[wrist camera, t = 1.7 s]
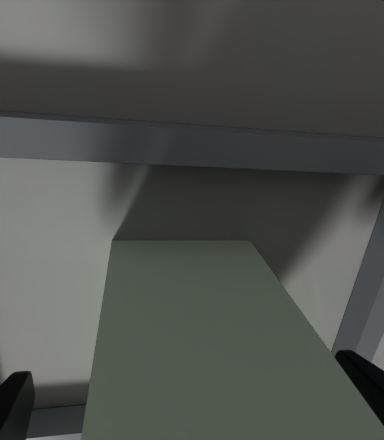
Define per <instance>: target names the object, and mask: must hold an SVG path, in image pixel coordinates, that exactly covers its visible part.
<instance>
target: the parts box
mask: <svg viewBox="0 0 384 440" xmlns="http://www.w3.org/2000/svg"><path fill="white" fill-rule="evenodd" d="M81 440H384V426H383V424H382V423H381V422H380V420H379V419H378V417H377V416H376V415H375V413H374V412H373V410H372V409H371V408H370V406H369V405H368V403H367V402H366V401H365V399H364V398H363V397H362V395H361V394H360V392H359V391H358V390H357V388H356V387H355V385H354V384H353V383H352V381H351V380H350V378H349V377H348V376H347V374H346V373H345V372H344V370H343V369H342V367H341V366H340V365H339V363H338V362H337V360H336V359H335V358H334V356H333V355H332V353H331V352H330V351H329V349H328V348H327V347H326V345H325V344H324V342H323V341H322V340H321V338H320V337H319V335H318V334H317V333H316V331H315V330H314V328H313V327H312V326H311V324H310V323H309V322H308V320H307V319H306V317H305V316H304V315H303V313H302V312H301V310H300V309H299V308H298V306H297V305H296V303H295V302H294V301H293V299H292V298H291V297H290V295H289V294H288V292H287V291H286V290H285V288H284V287H283V285H282V284H281V283H280V281H279V280H278V278H277V277H276V276H275V274H274V273H273V272H272V270H271V269H270V267H269V266H268V265H267V263H266V262H265V260H264V259H263V258H262V256H261V255H260V253H259V252H258V251H257V249H256V248H255V247H254V245H253V244H252V242H251V241H160V240H112V243H111V250H110V256H109V262H108V269H107V275H106V282H105V288H104V295H103V301H102V307H101V314H100V320H99V327H98V333H97V339H96V346H95V352H94V359H93V365H92V371H91V378H90V384H89V391H88V397H87V404H86V410H85V416H84V423H83V429H82V436H81Z"/></svg>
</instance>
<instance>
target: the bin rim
mask: <svg viewBox="0 0 384 440" xmlns="http://www.w3.org/2000/svg"><path fill="white" fill-rule="evenodd" d="M0 157H3V158H24V159H46V160H68V161H89V162H111V163H133V164H154V165H176V166H197V167H219V168H241V169H262V170H284V171H306V172H327V173H349V174H371V175H384V138H373V137H359V136H344V135H330V134H316V133H302V132H288V131H274V130H260V129H245V128H231V127H217V126H203V125H189V124H175V123H160V122H146V121H132V120H118V119H104V118H90V117H76V116H61V115H47V114H33V113H19V112H5V111H0ZM383 332H384V201H383V204H382V207H381V210H380V213H379V216H378V218H377V221H376V224H375V227H374V230H373V233H372V236H371V239H370V242H369V245H368V247H367V250H366V253H365V256H364V259H363V262H362V265H361V268H360V271H359V274H358V277H357V279H356V282H355V285H354V288H353V291H352V294H351V297H350V300H349V303H348V306H347V308H346V311H345V314H344V317H343V320H342V323H341V326H340V329H339V332H338V335H337V338H336V340H335V343H334V346H333V349H332V352H331V353H332V355H333V356H334V357H335V355H336V352H337V351H338V350H347V349H349V350H352V351H354V352H356V353H357V354H359V355H360V356H362V357H363V358H365V359H366V360H368V361H369V362H371V361H372V359H373V356H374V354H375V352H376V349H377V347H378V344H379V342H380V340H381V337H382V335H383ZM85 410H86V405H80V406H69V407H58V408H46V409H35V410H32V413H31V418H30V422H29V427H28V431H27V436H26V440H81V436H82V429H83V423H84V416H85Z"/></svg>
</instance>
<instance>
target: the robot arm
mask: <svg viewBox="0 0 384 440" xmlns="http://www.w3.org/2000/svg"><path fill="white" fill-rule="evenodd" d="M334 358H335V359H336V360H337V362H338V363H339V365H340V366H341V367H342V369H343V370H344V372H345V373H346V374H347V376H348V377H349V378H350V380H351V381H352V383H353V384H354V385H355V387H356V388H357V390H358V391H359V392H360V394H361V395H362V397H363V398H364V399H365V401H366V402H367V403H368V405H369V406H370V408H371V409H372V410H373V412H374V413H375V415H376V416H377V417H378V419H379V420H380V422H381V423H382V424H383V426H384V371H383V370H382V369H380V368H378V367H377V366H375V365H374V364H372V363H371V362H369V361H368V360H366V359H365V358H363V357H362V356H360V355H359V354H357V353H356V352H354V351H352V350H349V349H347V350H338V351H337V352H336V355H335V357H334ZM34 399H35V391H34V384H33V378H32V373H31V372H30V371H19V372H14V373H12V374H11V375H10V376H9V377H8V378H7V379H6V380H5V381H4V382H3V383H2V384H1V385H0V440H26V436H27V431H28V427H29V422H30V418H31V413H32V409H33V404H34Z"/></svg>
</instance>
